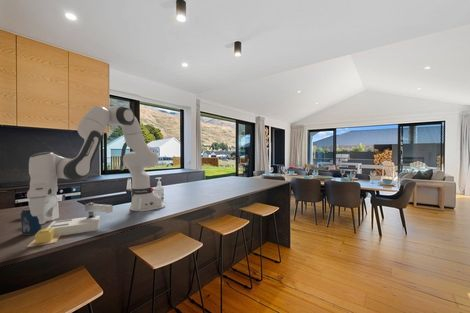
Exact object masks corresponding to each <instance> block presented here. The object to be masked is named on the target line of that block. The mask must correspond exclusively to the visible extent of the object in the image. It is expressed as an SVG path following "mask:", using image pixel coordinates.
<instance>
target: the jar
mask: <svg viewBox="0 0 470 313" xmlns="http://www.w3.org/2000/svg"><path fill="white" fill-rule="evenodd" d="M59 212H60V210H59V202H58V200H57V204H55V205H54V208H53V215H52V216H51V217H47V212H46V213H45V215H44V216H45V218H46V222H51V221H52V222H53V221H56V220H57V219H59V218H60V214H59Z"/></svg>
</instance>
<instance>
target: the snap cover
mask: <svg viewBox="0 0 470 313" xmlns="http://www.w3.org/2000/svg"><path fill="white" fill-rule="evenodd" d="M46 228H47V227H46ZM46 228H41V230H39V231H38V232H37V233H35V234H34V236H35V237H34V240H35V244H37V243H43V242H49V241H51V240H52V239H53V238H54V228H53V229H52V228H47V229H46Z"/></svg>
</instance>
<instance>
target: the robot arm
mask: <svg viewBox="0 0 470 313" xmlns="http://www.w3.org/2000/svg"><path fill="white" fill-rule="evenodd" d="M108 126H113V127H116V126H117V127H119V126H120V128H121V131H122V134H123V138H124V141H125V144H126V146H127V147H128V148H129V149H130V150H132V151H130V152H126V153H124V154H123V156H122V163H123V165H125V166H126V168H127V170H128V171H129V173H130V175H131V187H132V188H131V190H130V191H131V194H130V195H131V204H130V207H129V210H130V211H134V212H146V211H153V210H157V209H158V210H159V209H164V208H165V207H166V204H165V203H164V202H163V201H162V198H161V196H159V194H157V193H155V192H154V191H155V188H154V187H151V183H150V182H151V181H150V180H151V178H150V177H151V176H150V175H149V174H148V173H147V172H146V170H145V168H146V169H149V168H154V167H156V166H157V165H158V164H159V156H158V154H157V153H156V152H154V151H153V150H152V149H151V148H150V147H149V146H148V144H147V142H146V141H145V138H144V135H143V130H142V128H141V125H140V123H139V121H138V118H137V117H136V116H135V113H134V112H133V110H132V109H131V108H130V107H128V106H109V107H104V106H101V105H94V106H92V107H91V108H90V109H89V110H88V111H87V112H86V113H85V115H84V116H83V117H82V118H81V120H80V122H79V123H78V125H77V129H76V130H77V133H78V135H79V136H80V137H81V138H82V139H83V140H84V142H83V144H82V146H81V148H80V151H79V152H78V155H77V156H75V157H74V158H70V157H69V158H67V157H63V156H60V155H58V154H55V153H54V152H53V151H43V152H37V153H34V154H32V155H30V156H29V160H28V174H29V177H30V181H29V189H28V190H27V193H26V197H27V199H28V200H29V201H28V207H29V206H30V212H31V215H32V216H37V218H38V220H39V224H41V225H42V224H45V223H46V222H47V221H46V218H45V216H44V215H45V213H46V212H47V217H51V216H52V215H53V208H54V205H55V204H57V201H58V194H57V192H58V191H59V190H58V189H59V188H58V179H64V180H65V179H66V180H71V181H74V182H79V181H83V180H85V179H86V178H88V177H89V175H90V174H91V171H92V167H93V166H92V165H93V161H94V159H95V156H96V155H97V152H98V150H99V147H100V145H101V143H102V139H103V137H102V136H103V133H104V132H105V130H106V128H107V127H108Z"/></svg>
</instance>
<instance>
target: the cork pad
mask: <svg viewBox="0 0 470 313" xmlns="http://www.w3.org/2000/svg"><path fill="white" fill-rule="evenodd" d="M60 237H61V235H56V236H54V238H53V239H52V240H51V241H49V242H43V243H37V244H35V239H33V240H32V241H31V242H30V243H29V244H28V245H27V248H33V247H40V246H45V245H46V246H47V245H51V244H56V243H57V242H58V241H59V239H60Z"/></svg>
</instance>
